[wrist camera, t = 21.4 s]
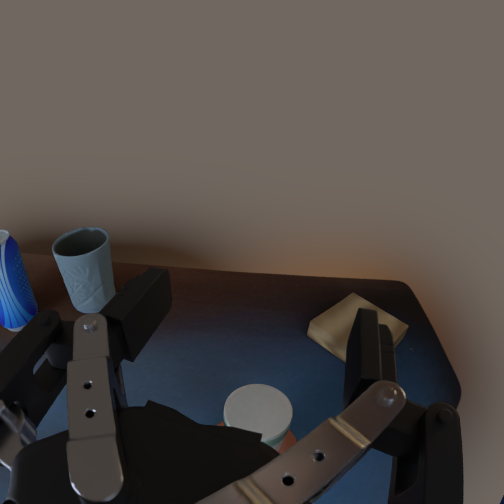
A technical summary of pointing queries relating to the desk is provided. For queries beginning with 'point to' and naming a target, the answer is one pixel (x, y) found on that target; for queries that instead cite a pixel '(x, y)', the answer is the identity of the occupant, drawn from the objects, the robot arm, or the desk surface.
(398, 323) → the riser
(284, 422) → the canister
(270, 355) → the desk surface
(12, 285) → the beer can
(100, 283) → the embossed ceramic tumbler
